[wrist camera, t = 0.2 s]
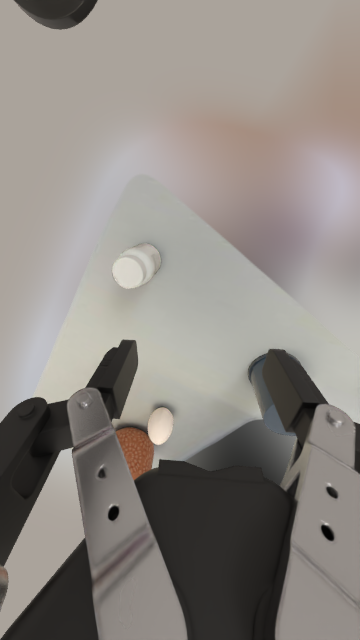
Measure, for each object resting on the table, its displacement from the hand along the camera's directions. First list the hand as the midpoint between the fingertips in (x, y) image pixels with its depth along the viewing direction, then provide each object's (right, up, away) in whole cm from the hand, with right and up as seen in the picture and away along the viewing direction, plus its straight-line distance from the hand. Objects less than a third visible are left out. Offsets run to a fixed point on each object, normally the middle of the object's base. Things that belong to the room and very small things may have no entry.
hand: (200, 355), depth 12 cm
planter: (-13, -28, +37) cm, 48 cm away
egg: (-5, -18, +31) cm, 36 cm away
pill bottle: (-6, +11, +15) cm, 20 cm away
